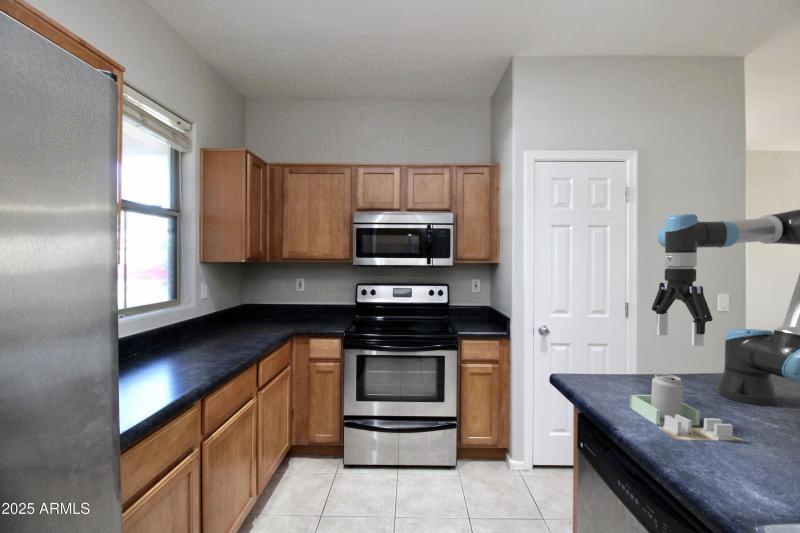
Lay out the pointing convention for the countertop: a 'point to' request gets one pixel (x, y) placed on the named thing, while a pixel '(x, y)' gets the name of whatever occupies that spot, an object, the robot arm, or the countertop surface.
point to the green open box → (653, 414)
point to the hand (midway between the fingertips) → (678, 340)
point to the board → (696, 435)
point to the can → (667, 395)
